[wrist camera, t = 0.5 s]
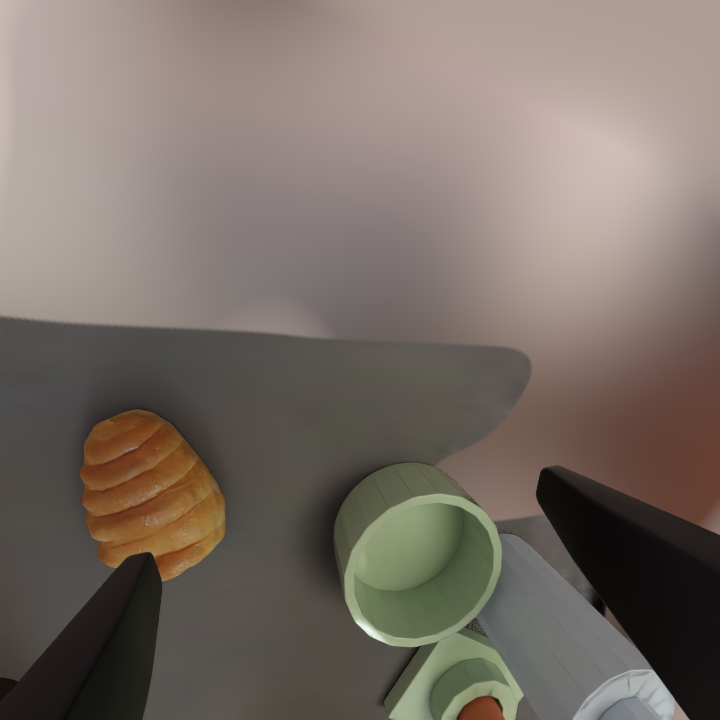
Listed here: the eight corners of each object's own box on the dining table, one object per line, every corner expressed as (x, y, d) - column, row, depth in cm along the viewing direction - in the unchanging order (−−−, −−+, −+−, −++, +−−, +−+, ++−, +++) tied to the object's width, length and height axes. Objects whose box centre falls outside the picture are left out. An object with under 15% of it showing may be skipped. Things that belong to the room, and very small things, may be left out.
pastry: (63, 430, 21) (17, 457, 17) (183, 389, 22) (165, 407, 18) (133, 566, 23) (105, 616, 19) (240, 522, 24) (234, 562, 20)
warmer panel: (477, 736, 31) (497, 780, 28) (383, 701, 29) (394, 746, 26) (530, 657, 31) (556, 693, 28) (440, 614, 28) (459, 650, 26)
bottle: (502, 619, 30) (700, 901, 16) (442, 589, 28) (604, 875, 14) (546, 553, 30) (785, 777, 16) (489, 519, 28) (699, 736, 14)
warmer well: (417, 611, 28) (442, 668, 24) (304, 559, 25) (310, 612, 21) (491, 500, 28) (530, 537, 24) (386, 436, 25) (408, 465, 21)
